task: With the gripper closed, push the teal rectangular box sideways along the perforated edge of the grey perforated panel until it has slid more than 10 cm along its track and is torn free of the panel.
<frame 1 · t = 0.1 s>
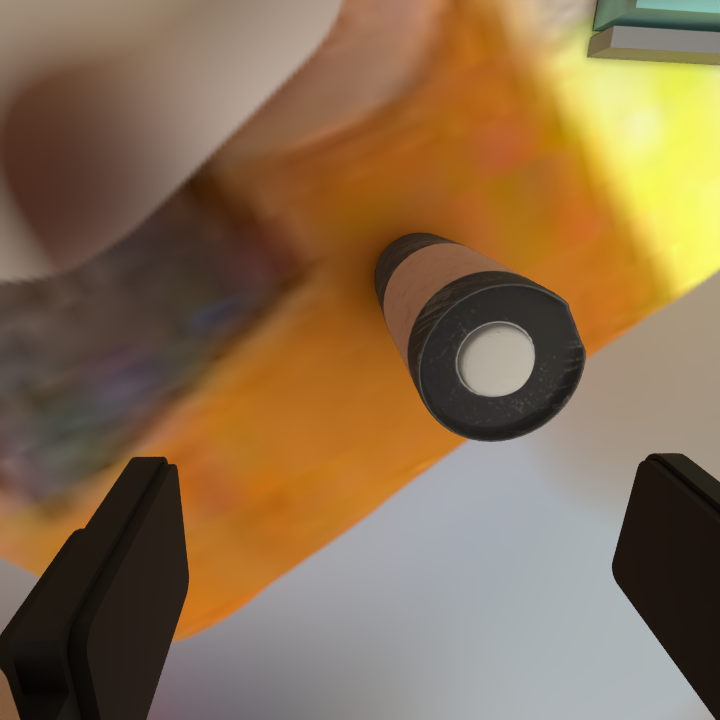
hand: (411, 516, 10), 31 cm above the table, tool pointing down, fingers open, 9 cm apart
travel mug: (417, 276, 40), on the table
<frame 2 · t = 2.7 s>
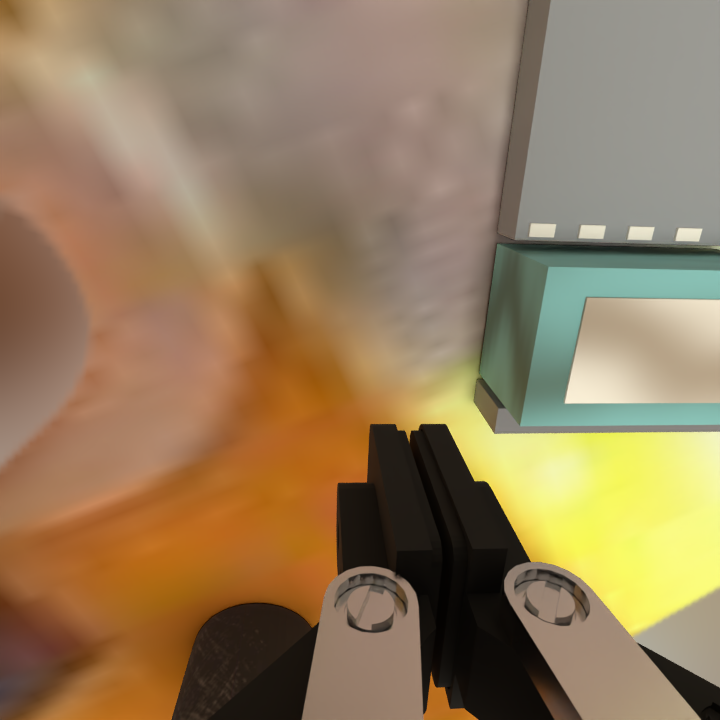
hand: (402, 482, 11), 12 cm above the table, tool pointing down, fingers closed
teal rectangular box: (627, 330, 20), point 3 cm above the table, slide at 0.0 cm
travel mug: (256, 644, 29), on the table
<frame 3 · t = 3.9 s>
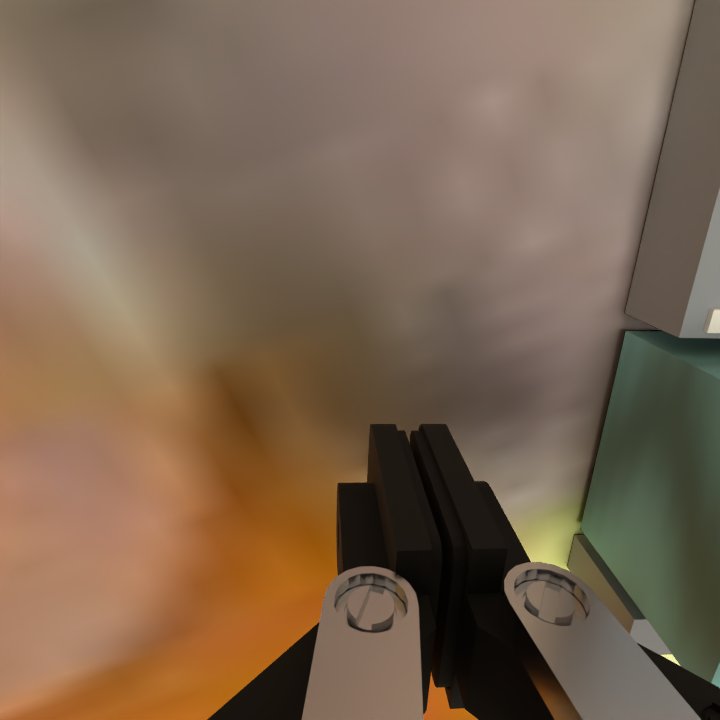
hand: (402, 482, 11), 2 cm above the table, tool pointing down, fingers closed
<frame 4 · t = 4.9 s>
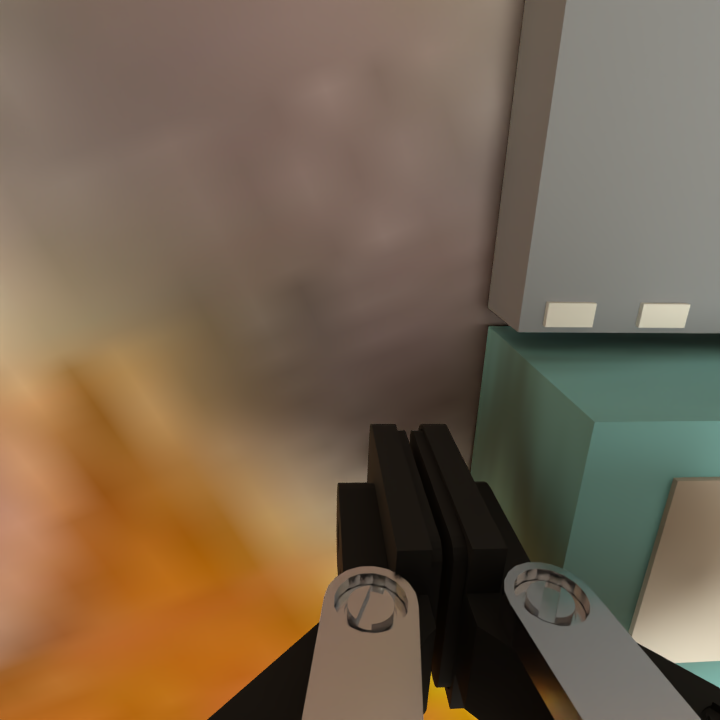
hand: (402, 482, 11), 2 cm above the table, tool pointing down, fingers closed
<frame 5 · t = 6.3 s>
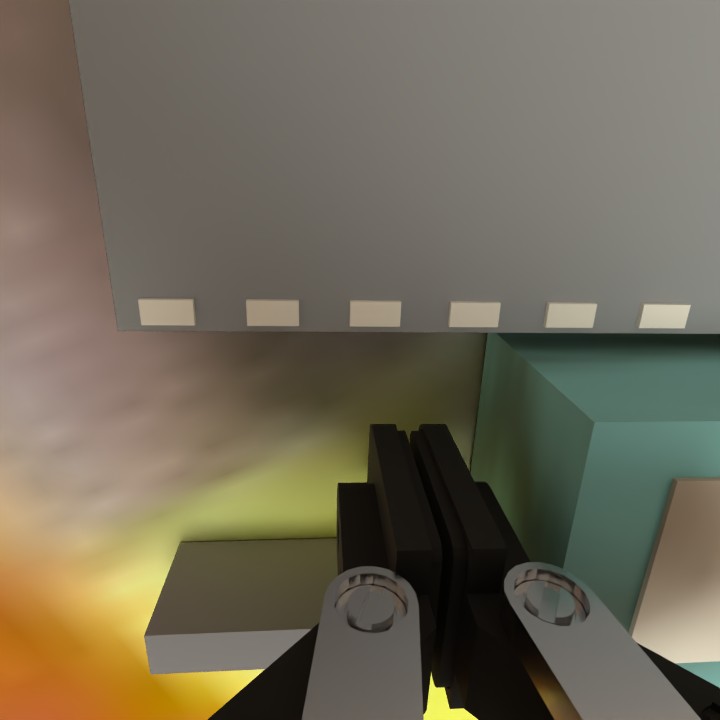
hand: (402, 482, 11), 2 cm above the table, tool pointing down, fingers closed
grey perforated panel: (607, 80, 10), on the table
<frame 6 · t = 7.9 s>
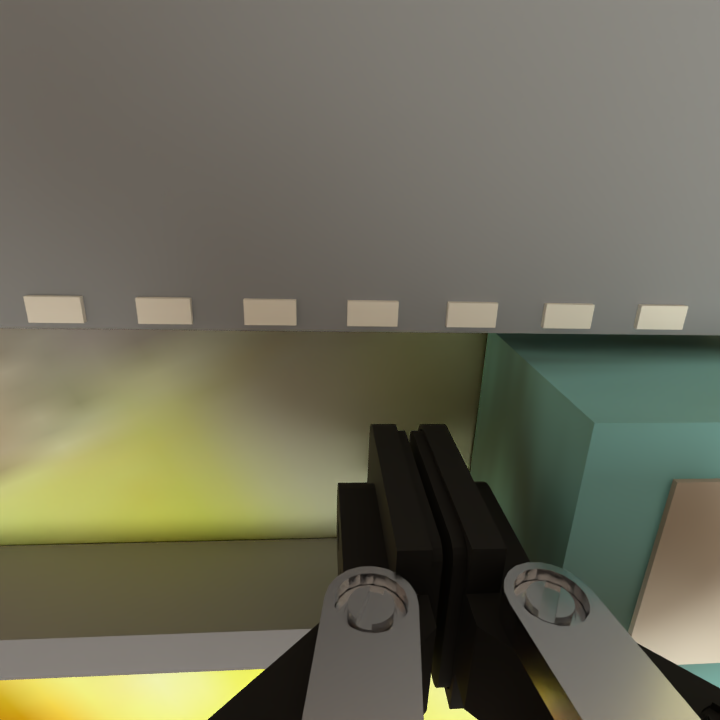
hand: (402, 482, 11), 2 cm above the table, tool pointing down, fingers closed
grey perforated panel: (323, 66, 10), on the table
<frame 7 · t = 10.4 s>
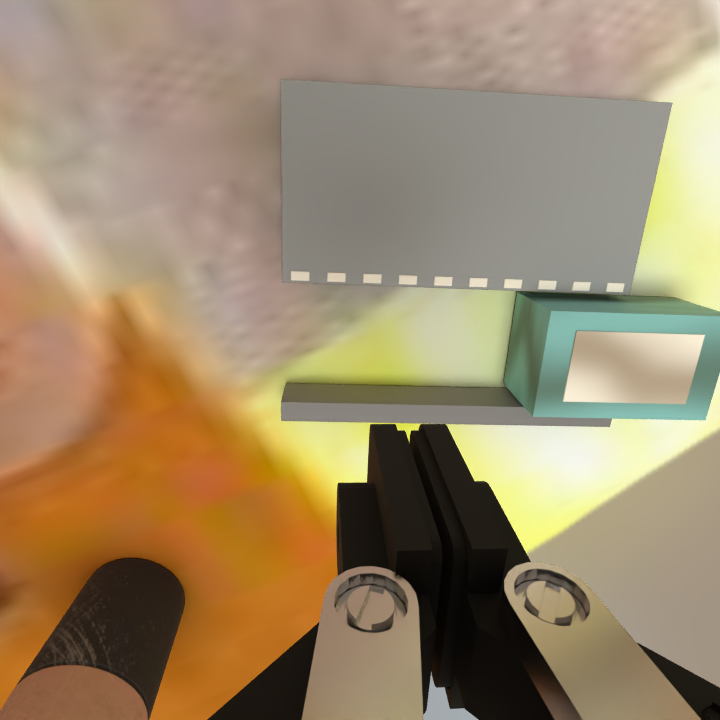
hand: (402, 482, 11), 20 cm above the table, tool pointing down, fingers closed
teal rectangular box: (608, 353, 29), point 3 cm above the table, slide at 14.0 cm
travel mug: (137, 594, 37), on the table
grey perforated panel: (460, 195, 28), on the table
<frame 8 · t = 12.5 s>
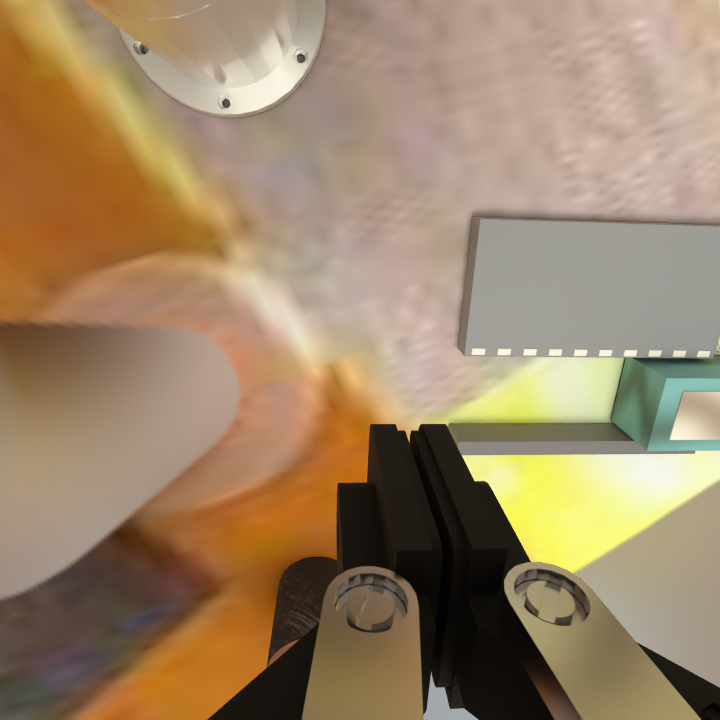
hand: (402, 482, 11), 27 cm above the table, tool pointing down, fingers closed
teal rectangular box: (696, 401, 39), point 3 cm above the table, slide at 14.0 cm
travel mug: (316, 584, 47), on the table
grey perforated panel: (590, 287, 38), on the table
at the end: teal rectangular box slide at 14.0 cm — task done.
